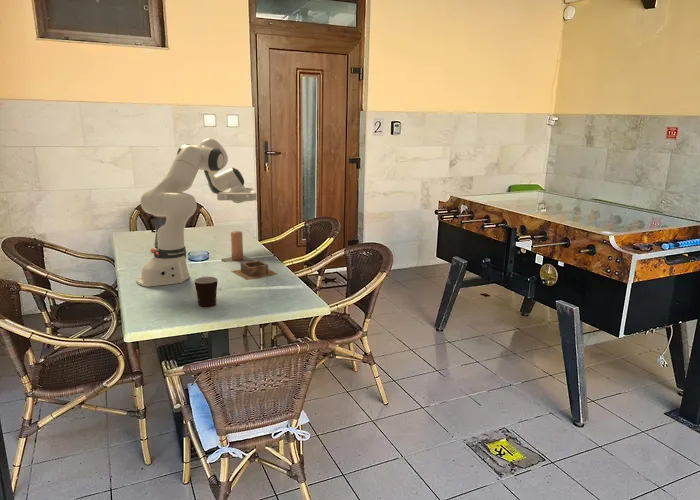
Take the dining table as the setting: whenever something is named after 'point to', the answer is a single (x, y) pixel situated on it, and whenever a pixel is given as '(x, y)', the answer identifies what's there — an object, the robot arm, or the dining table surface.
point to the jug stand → (254, 270)
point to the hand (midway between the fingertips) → (236, 198)
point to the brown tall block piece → (237, 246)
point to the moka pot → (157, 225)
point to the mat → (236, 261)
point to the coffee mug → (206, 291)
